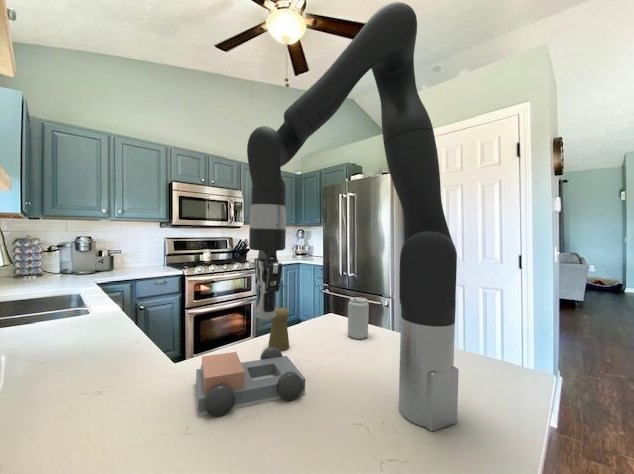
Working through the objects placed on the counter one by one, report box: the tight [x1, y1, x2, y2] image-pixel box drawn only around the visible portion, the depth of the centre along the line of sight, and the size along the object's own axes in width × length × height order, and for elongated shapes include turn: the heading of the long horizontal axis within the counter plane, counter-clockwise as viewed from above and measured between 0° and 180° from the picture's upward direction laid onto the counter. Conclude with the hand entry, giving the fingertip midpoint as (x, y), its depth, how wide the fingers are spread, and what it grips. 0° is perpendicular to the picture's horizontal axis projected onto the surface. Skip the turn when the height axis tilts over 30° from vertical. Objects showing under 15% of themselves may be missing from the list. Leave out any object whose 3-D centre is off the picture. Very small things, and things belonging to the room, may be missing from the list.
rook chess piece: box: [254, 281, 277, 320], centre depth 62 cm, size 4×4×8 cm
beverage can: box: [347, 296, 370, 340], centre depth 94 cm, size 6×6×12 cm
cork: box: [267, 307, 290, 353], centre depth 83 cm, size 6×6×11 cm
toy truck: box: [195, 347, 306, 418], centre depth 61 cm, size 15×20×6 cm
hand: (265, 308), depth 62 cm, fingers closed on rook chess piece, 4 cm apart
